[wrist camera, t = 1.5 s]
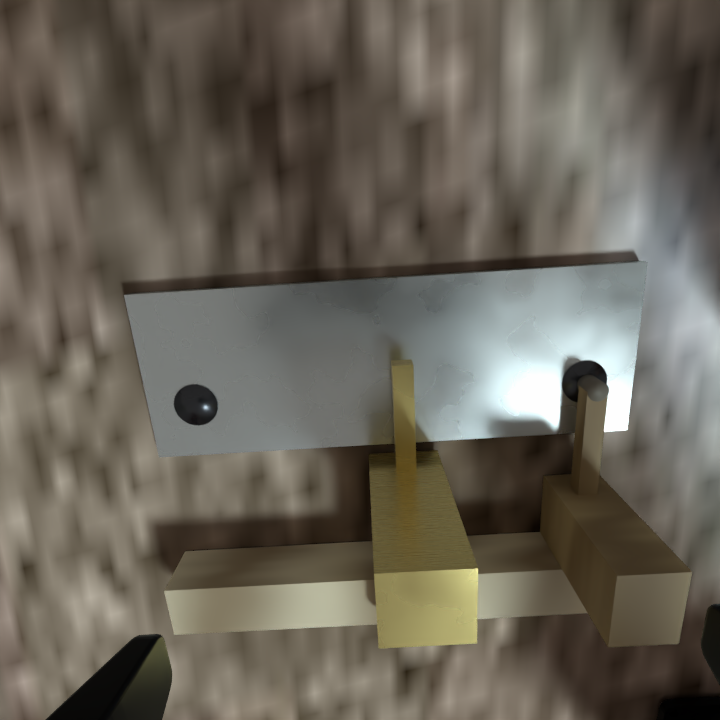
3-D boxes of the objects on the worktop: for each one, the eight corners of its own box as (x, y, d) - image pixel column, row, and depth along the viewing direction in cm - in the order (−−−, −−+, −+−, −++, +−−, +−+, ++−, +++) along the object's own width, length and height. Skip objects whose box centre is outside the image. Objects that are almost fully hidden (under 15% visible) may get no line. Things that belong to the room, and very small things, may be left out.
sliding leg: (435, 351, 18) (480, 425, 12) (438, 568, 21) (475, 725, 15) (362, 355, 18) (364, 432, 12) (376, 571, 21) (384, 730, 15)
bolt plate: (639, 260, 17) (648, 261, 17) (620, 424, 19) (627, 430, 19) (130, 292, 18) (123, 295, 17) (163, 451, 20) (158, 457, 19)
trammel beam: (627, 365, 19) (746, 429, 13) (603, 570, 22) (691, 694, 16) (151, 394, 19) (62, 468, 13) (193, 591, 22) (135, 721, 16)
